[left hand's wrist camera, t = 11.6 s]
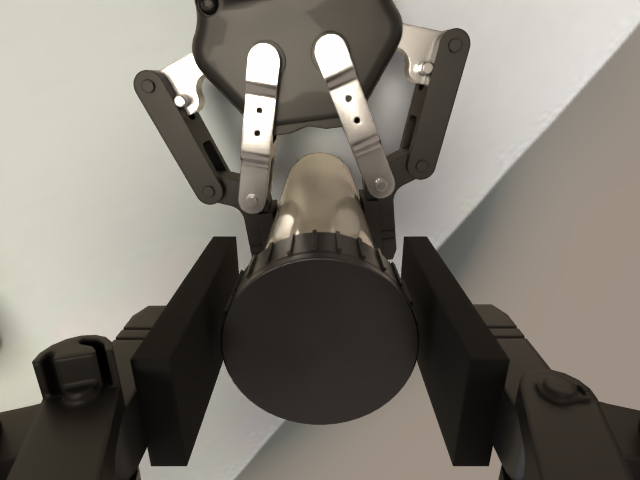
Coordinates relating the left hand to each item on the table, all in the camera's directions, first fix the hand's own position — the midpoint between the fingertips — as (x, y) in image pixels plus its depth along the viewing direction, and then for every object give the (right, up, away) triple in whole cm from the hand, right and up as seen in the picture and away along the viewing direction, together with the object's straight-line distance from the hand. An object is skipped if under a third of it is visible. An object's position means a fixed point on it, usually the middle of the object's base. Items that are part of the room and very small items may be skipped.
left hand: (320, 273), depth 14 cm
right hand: (0, 0, +7) cm, 7 cm away
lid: (0, -1, -4) cm, 4 cm away
